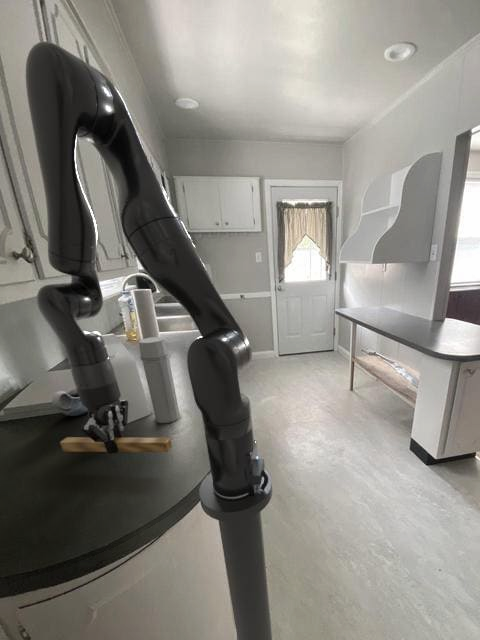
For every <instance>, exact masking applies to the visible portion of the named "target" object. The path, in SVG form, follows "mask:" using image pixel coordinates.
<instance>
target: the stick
mask: <svg viewBox="0 0 480 640" xmlns="http://www.w3.org/2000/svg"><path fill="white" fill-rule="evenodd" d="M115 440H116V444H117V447H118V450H119V451H118V452H117V453H169V452H170V451H171V449H172V448H173V444H172V440H171V437H124V438H115ZM59 444H60V447H61V449H62V452H74V453H75V452H77V453H78V452H80V453H81V452H82V453H83V452H85V453H86V452H87V453H88V452H89V453H90V452H91V453H97V452H98V453H108V452H107V451H106V447H105V444H104V442H95V441H93V440H92V439H91V438H90V437H89V436H79V437H78V436H77V437H76V436H74V437H73V436H67V437H65V438H63V439H62V440H61V441H60V442H59Z"/></svg>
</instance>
